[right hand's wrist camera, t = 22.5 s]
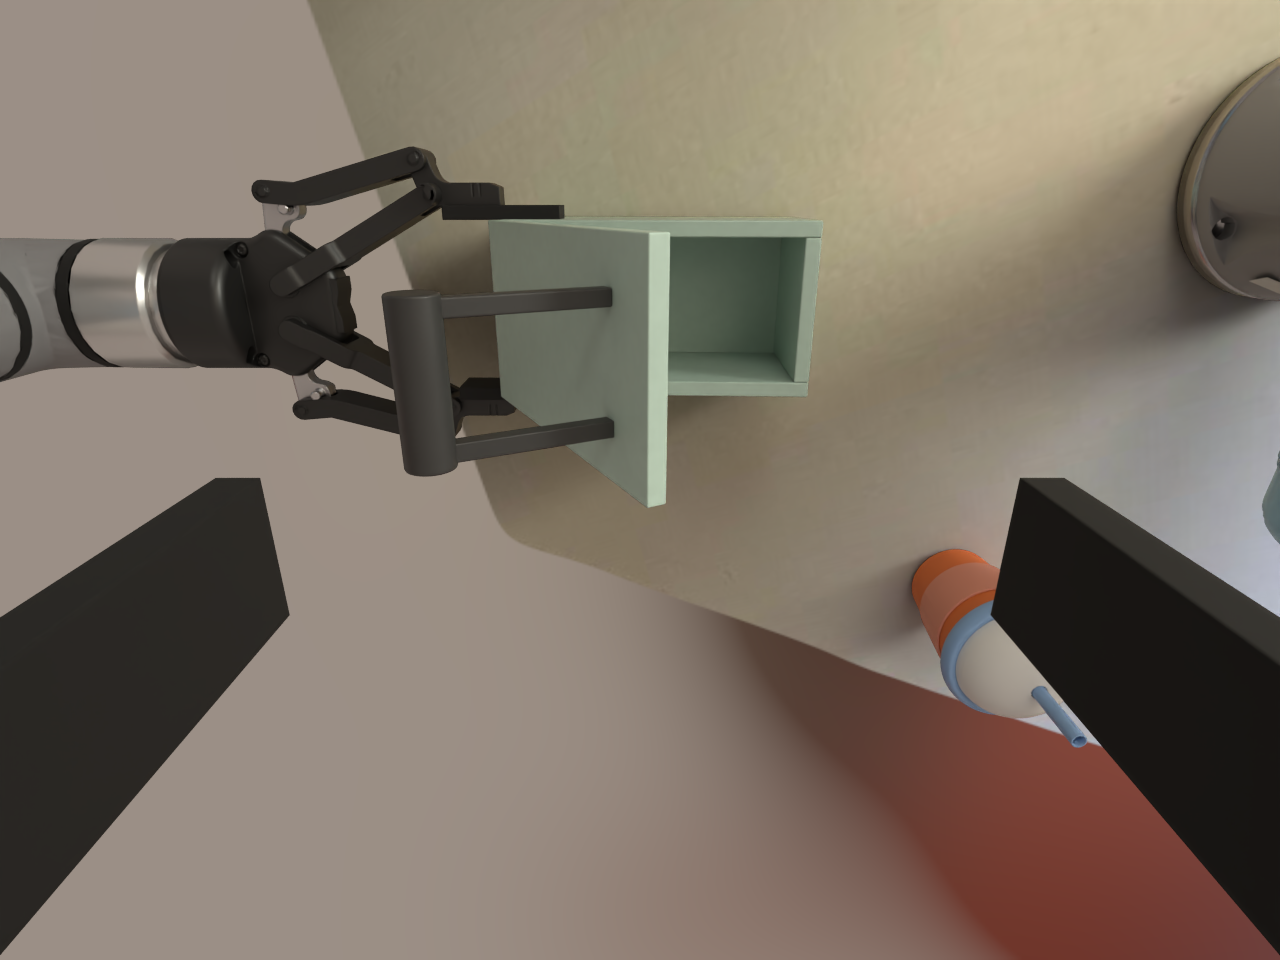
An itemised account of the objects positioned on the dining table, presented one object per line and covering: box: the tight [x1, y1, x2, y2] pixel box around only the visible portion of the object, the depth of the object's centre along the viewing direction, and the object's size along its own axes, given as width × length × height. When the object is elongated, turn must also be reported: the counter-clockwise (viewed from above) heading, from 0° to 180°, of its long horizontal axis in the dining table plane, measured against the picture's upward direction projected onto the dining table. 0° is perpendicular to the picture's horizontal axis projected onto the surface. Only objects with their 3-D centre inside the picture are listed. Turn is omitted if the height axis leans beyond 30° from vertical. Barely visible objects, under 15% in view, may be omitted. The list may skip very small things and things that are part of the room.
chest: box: [502, 217, 823, 397], centre depth 43 cm, size 17×10×10 cm, turn 90°
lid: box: [382, 220, 670, 508], centre depth 30 cm, size 18×10×9 cm
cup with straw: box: [912, 549, 1087, 747], centre depth 48 cm, size 9×9×18 cm
